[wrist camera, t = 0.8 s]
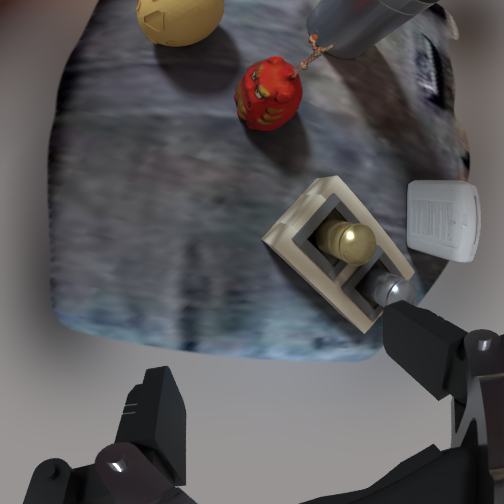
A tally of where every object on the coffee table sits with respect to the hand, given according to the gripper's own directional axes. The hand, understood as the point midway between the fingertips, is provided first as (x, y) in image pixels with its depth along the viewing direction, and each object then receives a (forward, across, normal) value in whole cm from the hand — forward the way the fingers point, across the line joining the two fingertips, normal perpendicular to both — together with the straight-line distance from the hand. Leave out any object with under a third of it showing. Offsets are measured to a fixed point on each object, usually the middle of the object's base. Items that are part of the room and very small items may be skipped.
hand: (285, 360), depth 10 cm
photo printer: (+26, -27, +2) cm, 38 cm away
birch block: (+26, -13, +4) cm, 29 cm away
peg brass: (+21, -10, +1) cm, 23 cm away
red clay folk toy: (+26, -8, -15) cm, 31 cm away
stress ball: (+26, 0, -28) cm, 38 cm away
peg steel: (+21, -15, +8) cm, 27 cm away
